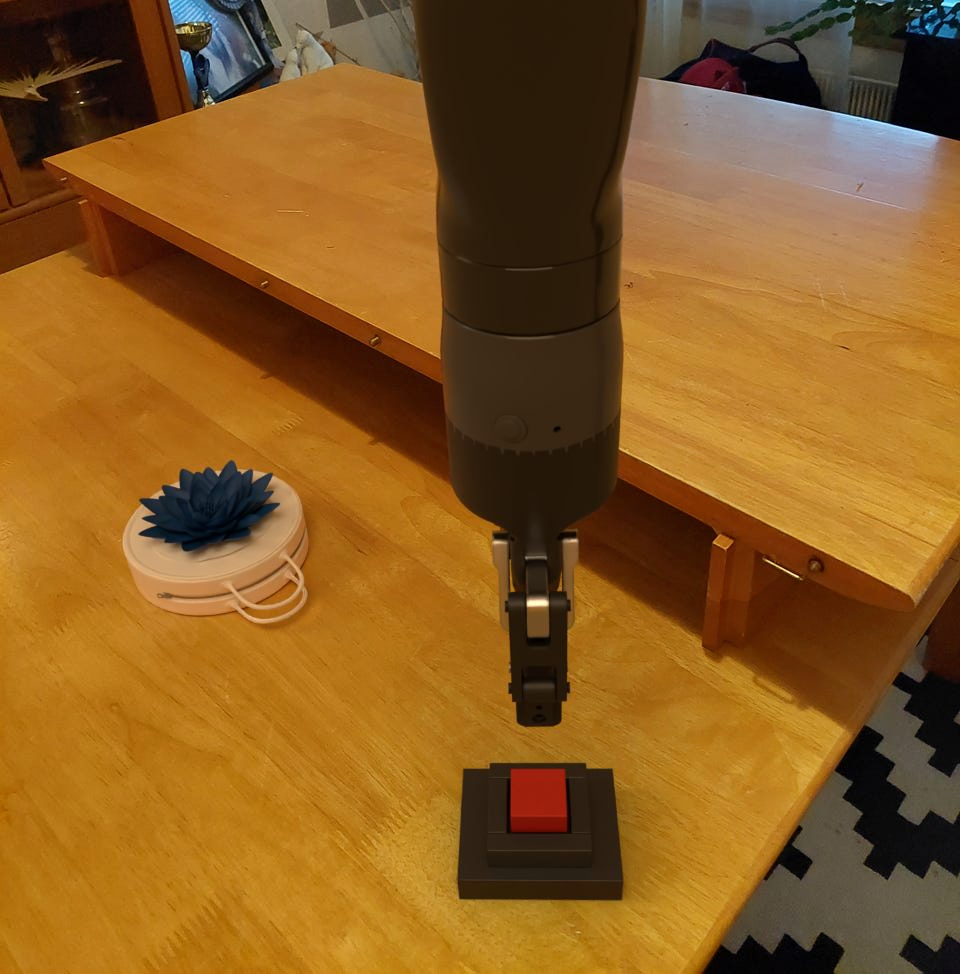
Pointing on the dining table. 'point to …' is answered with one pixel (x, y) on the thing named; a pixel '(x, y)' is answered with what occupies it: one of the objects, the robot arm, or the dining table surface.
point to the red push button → (539, 839)
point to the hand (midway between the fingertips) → (536, 655)
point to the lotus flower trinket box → (218, 543)
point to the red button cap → (538, 800)
